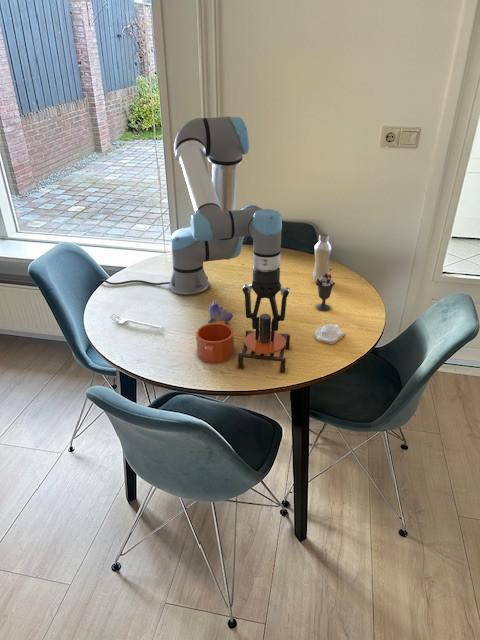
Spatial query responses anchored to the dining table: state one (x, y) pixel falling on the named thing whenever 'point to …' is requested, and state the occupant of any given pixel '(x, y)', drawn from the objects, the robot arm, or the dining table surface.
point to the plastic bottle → (321, 257)
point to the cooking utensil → (131, 321)
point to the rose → (329, 333)
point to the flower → (219, 314)
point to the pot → (215, 342)
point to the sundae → (324, 290)
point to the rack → (262, 356)
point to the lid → (265, 338)
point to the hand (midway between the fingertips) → (265, 338)
